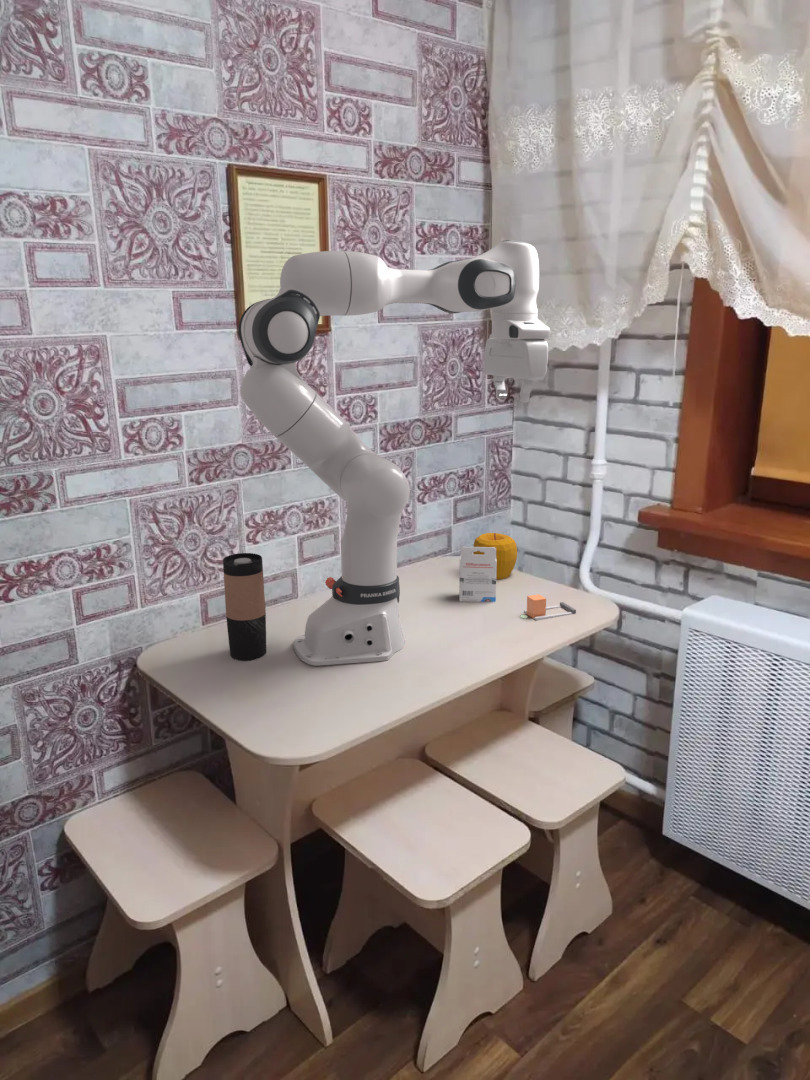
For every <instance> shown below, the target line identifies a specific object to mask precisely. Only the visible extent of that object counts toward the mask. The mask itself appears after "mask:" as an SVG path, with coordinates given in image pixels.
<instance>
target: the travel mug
mask: <svg viewBox="0 0 810 1080" xmlns="http://www.w3.org/2000/svg"><path fill="white" fill-rule="evenodd" d="M222 567H223V568H222V570H223V584H224V602H225V603H224V604H225V616H226V617H225V619H226V627H227V637H228V639H227V640H228V647H229V655H230V658H231V659H233V660H235V661H238V662H239V661H240V662H248V661H255V660H259V659H260V658H263V657H264V656H265V655H266V654H267V622H266V621H267V614H266V612H267V610H266V598H265V584H264V583H265V582H264V581H265V580H264V568H263V557H262V556H261V555H260V554H257V553H252V552H246V553H245V552H240V553H233V554H231V555H230V554H229V555H226V556H225V557H224V558H223V559H222Z"/></svg>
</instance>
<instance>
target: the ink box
mask: <svg viewBox="0 0 810 1080" xmlns="http://www.w3.org/2000/svg"><path fill="white" fill-rule="evenodd" d="M477 551H480V552H484V553H485V554H484V555H474V553H473V552H477ZM496 565H497V561H496V548H495V547H473V546H461V547H460V557H459V582H458V583H459V586H458V587H459V594H458V595H459V598H458V599H459V602H465V603H466V602H468V603H469V602H472V603H473V602H477V603H478V602H479V603H480V602H481V603H482V602H483V603H484V602H485V603H488V602H489V603H490V602H491V603H493V602H494V603H495V602H496V601H497V580H496Z"/></svg>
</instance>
